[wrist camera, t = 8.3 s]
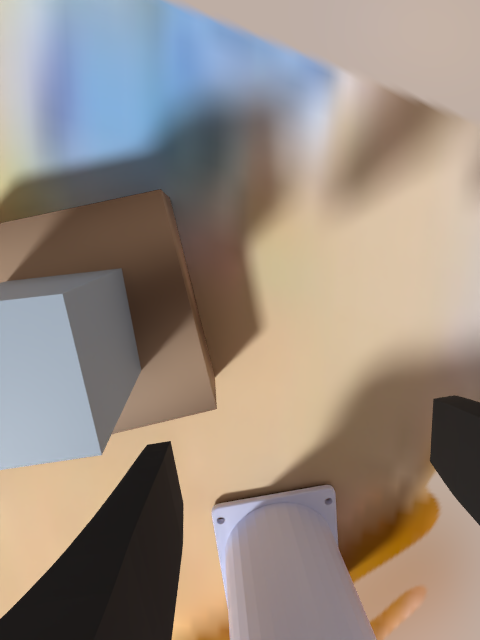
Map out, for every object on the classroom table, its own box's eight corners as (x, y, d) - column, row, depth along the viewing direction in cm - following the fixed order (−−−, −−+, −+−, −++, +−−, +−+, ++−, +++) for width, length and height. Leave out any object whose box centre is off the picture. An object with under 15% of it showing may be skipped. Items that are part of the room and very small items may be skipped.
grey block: (141, 370, 15) (101, 454, 9) (36, 384, 15) (-71, 480, 9) (121, 268, 14) (62, 293, 8) (6, 281, 14) (-138, 316, 8)
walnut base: (214, 374, 20) (216, 408, 16) (45, 414, 20) (5, 459, 16) (170, 198, 17) (160, 189, 13) (-27, 240, 17) (-95, 243, 13)
